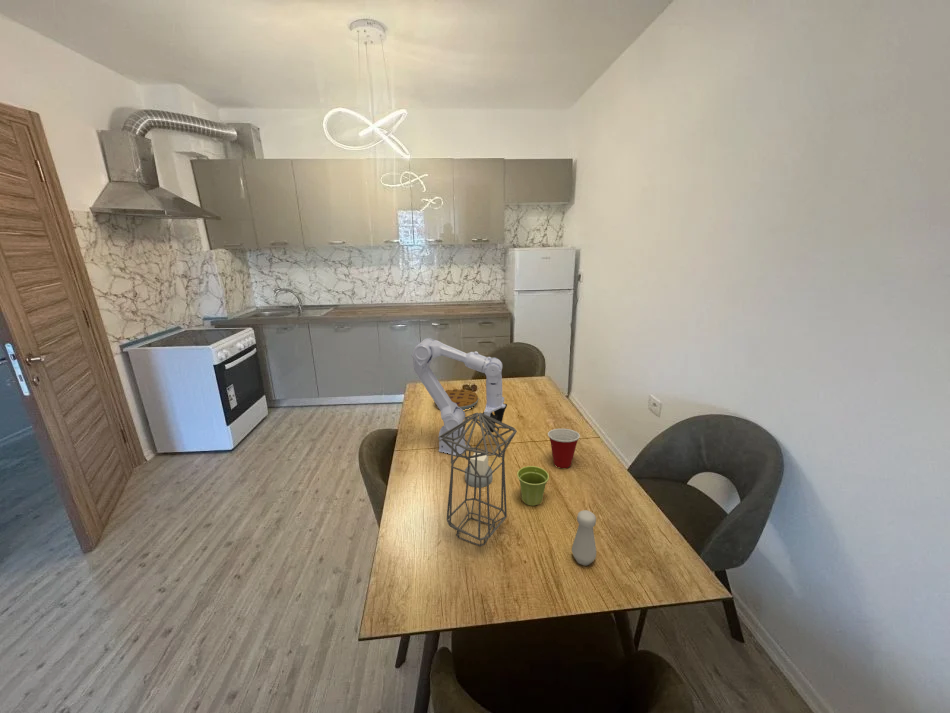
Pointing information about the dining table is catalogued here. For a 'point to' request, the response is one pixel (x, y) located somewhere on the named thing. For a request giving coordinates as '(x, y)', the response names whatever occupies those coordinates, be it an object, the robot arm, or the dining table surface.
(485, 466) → the cream block
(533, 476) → the plant pot
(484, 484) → the grey disc
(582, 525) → the salt shaker
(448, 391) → the pie
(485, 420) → the geometric lantern
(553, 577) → the dining table surface
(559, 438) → the plastic cup
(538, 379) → the dining table surface
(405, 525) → the dining table surface
